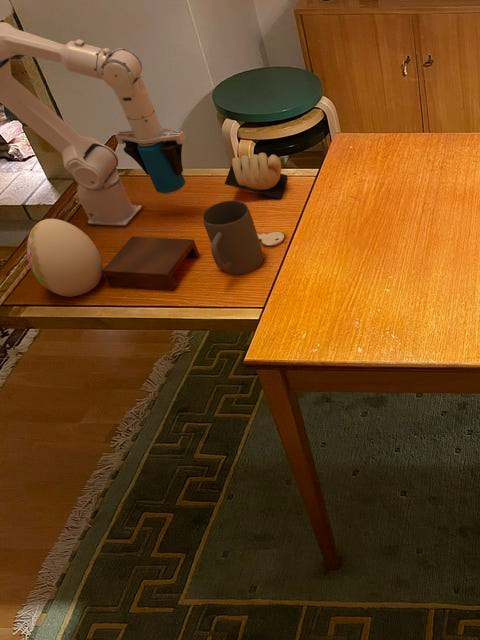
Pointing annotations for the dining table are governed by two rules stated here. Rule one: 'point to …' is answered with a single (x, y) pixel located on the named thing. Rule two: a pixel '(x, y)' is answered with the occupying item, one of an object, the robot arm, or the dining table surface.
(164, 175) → the beverage can
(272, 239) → the key
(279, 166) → the decorative object
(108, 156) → the robot arm
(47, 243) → the decorative egg
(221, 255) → the mug
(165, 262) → the shelf
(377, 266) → the dining table surface
